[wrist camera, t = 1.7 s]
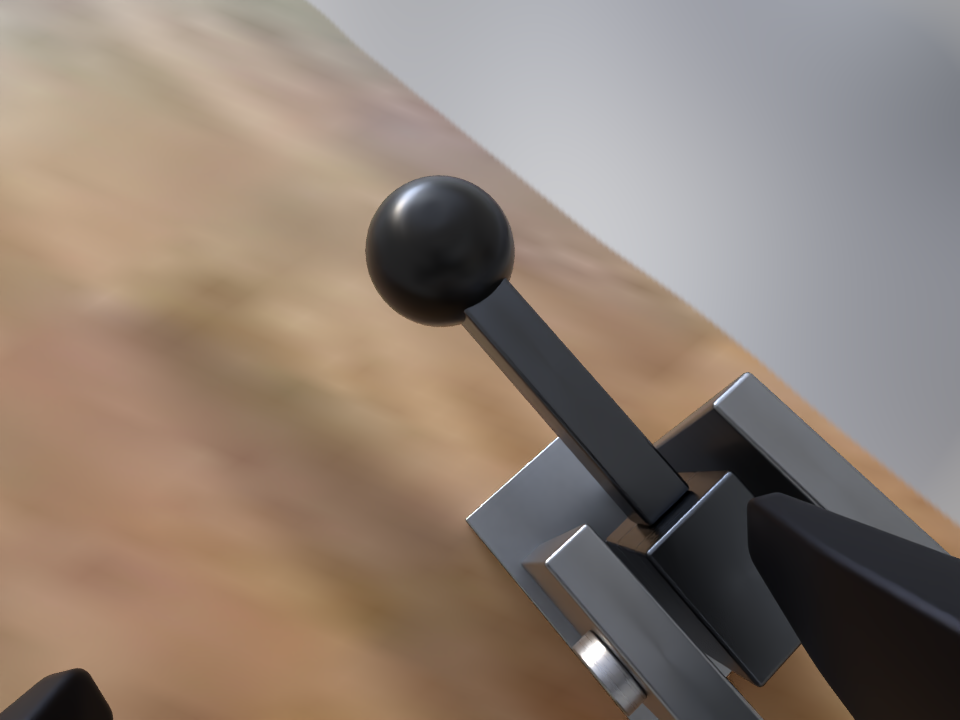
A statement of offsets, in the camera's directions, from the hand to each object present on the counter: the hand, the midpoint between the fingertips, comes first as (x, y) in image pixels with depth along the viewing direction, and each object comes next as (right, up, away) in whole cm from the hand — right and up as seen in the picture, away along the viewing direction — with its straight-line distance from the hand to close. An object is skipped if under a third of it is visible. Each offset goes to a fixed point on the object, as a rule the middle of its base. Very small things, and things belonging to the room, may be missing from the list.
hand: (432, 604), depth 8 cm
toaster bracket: (+5, -4, +13) cm, 14 cm away
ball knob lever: (+2, +2, +5) cm, 6 cm away
